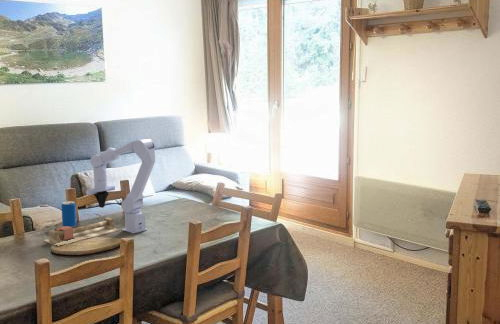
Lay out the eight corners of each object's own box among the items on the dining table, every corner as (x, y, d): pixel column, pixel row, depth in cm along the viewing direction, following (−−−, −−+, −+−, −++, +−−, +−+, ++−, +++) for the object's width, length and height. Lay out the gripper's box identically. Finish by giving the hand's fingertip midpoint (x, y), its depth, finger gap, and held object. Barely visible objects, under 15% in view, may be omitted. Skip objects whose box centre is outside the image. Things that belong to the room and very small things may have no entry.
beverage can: (74, 228, 236) (73, 204, 234) (60, 228, 236) (59, 204, 234) (78, 224, 243) (77, 200, 240) (65, 224, 242) (63, 200, 240)
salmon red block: (65, 234, 222) (64, 225, 221) (73, 237, 218) (72, 227, 217) (57, 237, 219) (56, 227, 218) (64, 239, 215) (64, 229, 214)
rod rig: (104, 226, 239) (104, 215, 239) (119, 230, 232) (118, 220, 231) (44, 241, 216) (43, 229, 216) (58, 246, 209) (57, 234, 208)
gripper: (108, 176, 243) (109, 203, 245) (81, 180, 232) (83, 208, 234) (117, 177, 238) (118, 205, 240) (90, 182, 227) (92, 211, 229)
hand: (101, 207), depth 237 cm, fingers closed
